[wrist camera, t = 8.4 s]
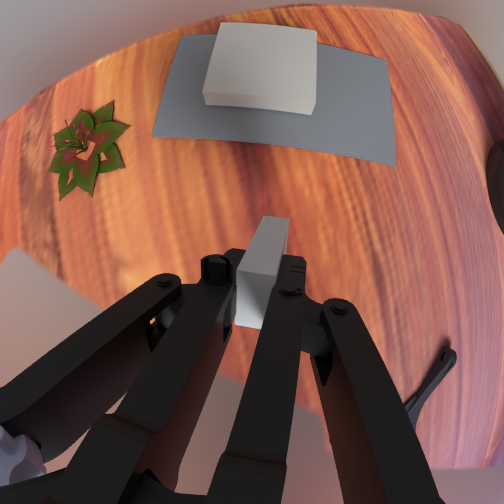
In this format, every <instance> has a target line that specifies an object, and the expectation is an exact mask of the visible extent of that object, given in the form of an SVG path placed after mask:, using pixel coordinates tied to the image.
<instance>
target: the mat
mask: <svg viewBox="0 0 504 504" xmlns="http://www.w3.org/2000/svg"><path fill="white" fill-rule="evenodd" d="M216 38H217V34H200V35H182V37H181V40H180V43H179V45H178V48H177V51H176V54H175V57H174V59H173V62H172V65H171V68H170V71H169V75H168V78H167V81H166V84H165V87H164V91H163V94H162V98H161V101H160V105H159V108H158V112H157V116H156V120H155V124H154V128H153V132H152V137H153V138H193V139H212V140H227V141H239V142H250V143H260V144H269V145H277V146H285V147H292V148H299V149H306V150H312V151H319V152H325V153H330V154H336V155H341V156H346V157H351V158H356V159H361V160H366V161H370V162H375V163H379V164H384V165H388V166H392V167H395V166H396V149H395V130H394V117H393V106H392V96H391V88H390V80H389V73H388V67H387V61H386V60H383V59H379V58H376V57H373V56H369V55H366V54H362V53H358V52H354V51H350V50H346V49H342V48H338V47H333V46H328V45H323V44H318V43H317V75H316V104H315V106H314V109H313V111H312V114H311V115H306V114H300V113H293V112H285V111H277V110H269V109H259V108H248V107H235V106H218V105H206V103H205V100H204V96H203V93H202V91H203V87H204V83H205V79H206V75H207V71H208V67H209V63H210V59H211V56H212V52H213V48H214V45H215V41H216Z"/></svg>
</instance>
